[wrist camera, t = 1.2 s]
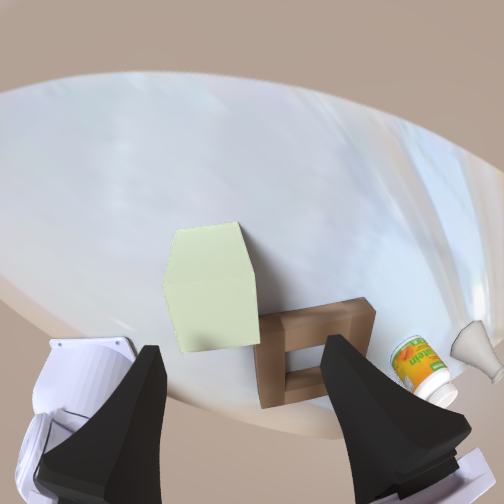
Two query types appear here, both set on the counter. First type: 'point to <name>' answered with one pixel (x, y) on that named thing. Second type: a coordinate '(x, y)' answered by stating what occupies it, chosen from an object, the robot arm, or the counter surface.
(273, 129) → the counter surface
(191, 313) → the peg
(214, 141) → the counter surface
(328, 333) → the socket
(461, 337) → the flask
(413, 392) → the supplement bottle
